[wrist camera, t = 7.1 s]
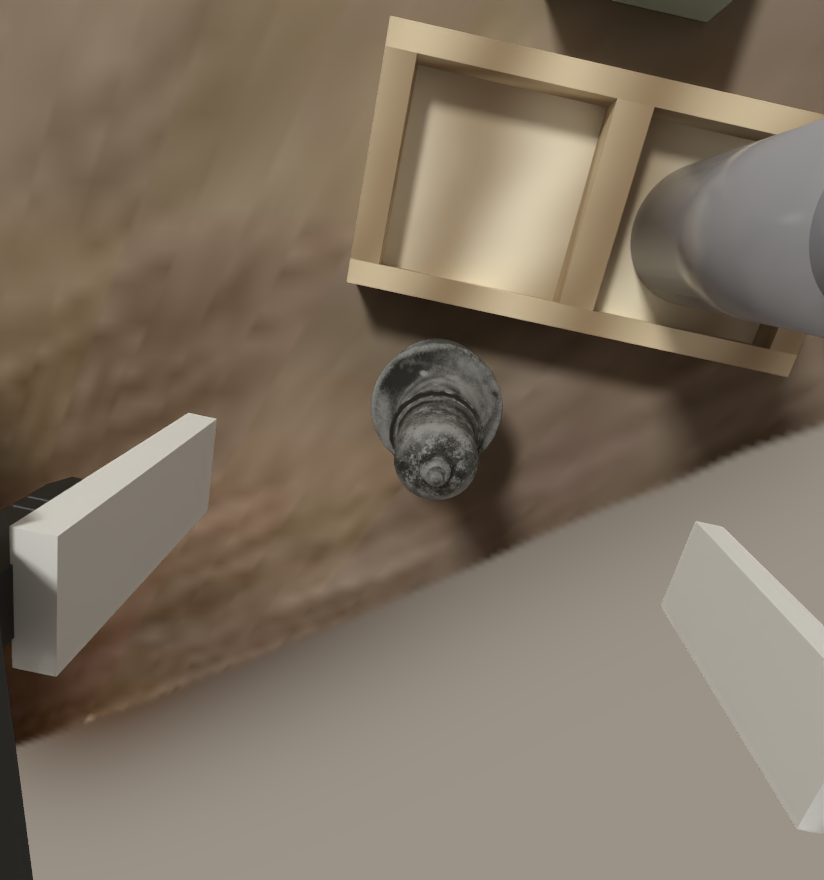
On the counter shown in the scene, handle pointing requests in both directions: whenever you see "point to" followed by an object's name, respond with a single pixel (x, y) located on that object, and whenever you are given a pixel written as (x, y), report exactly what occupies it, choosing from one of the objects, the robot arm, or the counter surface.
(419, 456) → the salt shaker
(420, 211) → the tray
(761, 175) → the pepper pot
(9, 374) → the counter surface
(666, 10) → the grey-green square box
